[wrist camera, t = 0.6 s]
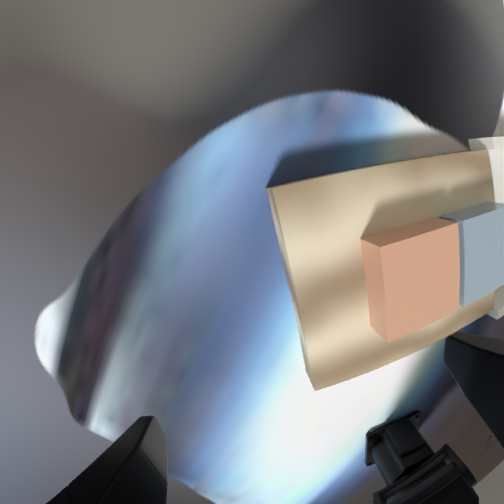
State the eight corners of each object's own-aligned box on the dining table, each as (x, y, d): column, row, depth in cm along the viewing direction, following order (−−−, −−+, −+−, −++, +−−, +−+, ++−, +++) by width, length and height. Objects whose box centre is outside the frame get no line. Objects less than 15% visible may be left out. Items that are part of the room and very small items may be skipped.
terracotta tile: (437, 297, 18) (458, 310, 16) (370, 325, 18) (387, 342, 16) (434, 217, 17) (457, 222, 15) (360, 238, 17) (379, 247, 14)
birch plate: (476, 300, 22) (493, 309, 20) (306, 371, 21) (314, 391, 19) (468, 151, 19) (488, 149, 16) (265, 187, 18) (272, 188, 16)
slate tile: (489, 272, 19) (509, 280, 16) (442, 295, 18) (463, 307, 16) (488, 201, 17) (510, 204, 15) (439, 215, 17) (462, 220, 15)
